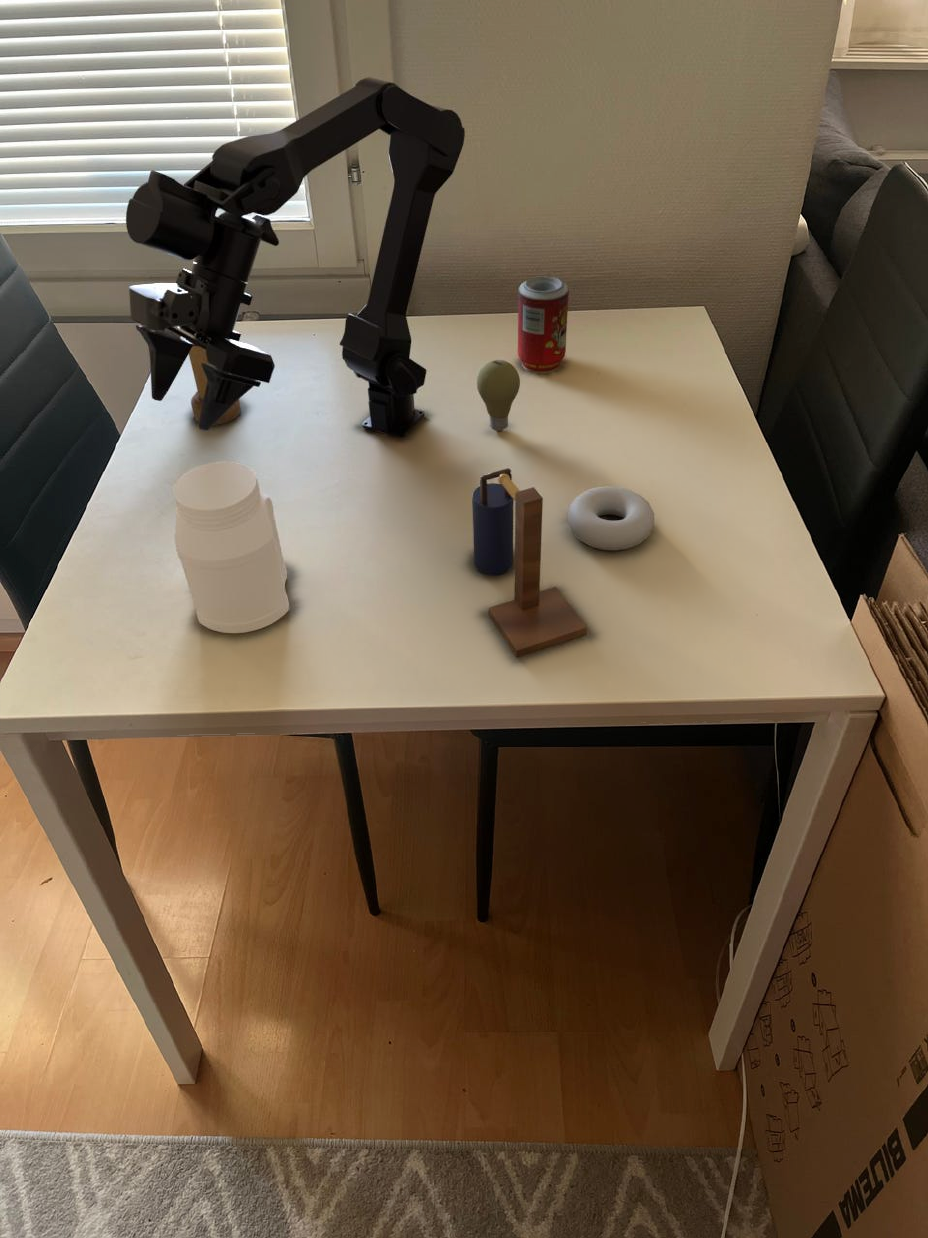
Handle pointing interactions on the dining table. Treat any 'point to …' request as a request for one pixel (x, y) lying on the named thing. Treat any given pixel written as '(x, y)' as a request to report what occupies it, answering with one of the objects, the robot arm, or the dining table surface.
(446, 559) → the dining table surface
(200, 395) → the mortar and pestle
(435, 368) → the dining table surface
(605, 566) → the dining table surface
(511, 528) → the blue handled weight
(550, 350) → the soda can
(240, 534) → the jar
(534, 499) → the hook stand
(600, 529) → the donut
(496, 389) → the light bulb
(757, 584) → the dining table surface
